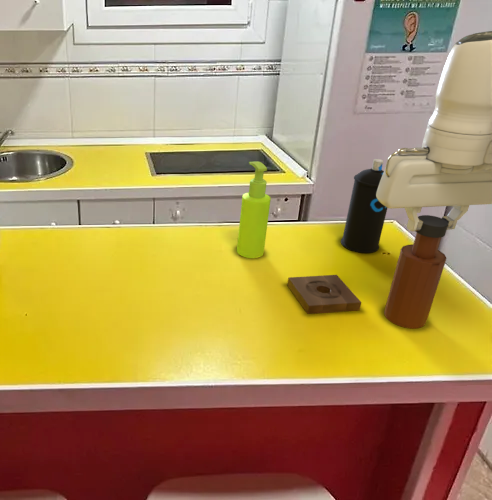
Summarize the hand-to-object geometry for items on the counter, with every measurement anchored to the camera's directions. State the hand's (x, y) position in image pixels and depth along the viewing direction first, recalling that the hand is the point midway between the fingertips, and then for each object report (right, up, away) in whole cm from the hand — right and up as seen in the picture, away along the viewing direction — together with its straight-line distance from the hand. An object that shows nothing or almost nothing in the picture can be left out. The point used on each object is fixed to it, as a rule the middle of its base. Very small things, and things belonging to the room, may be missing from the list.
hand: (430, 229), depth 85 cm
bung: (0, -2, +1) cm, 3 cm away
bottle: (0, -16, +8) cm, 18 cm away
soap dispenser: (-23, -4, +31) cm, 39 cm away
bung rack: (-13, -13, +14) cm, 23 cm away
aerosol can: (+2, -3, +33) cm, 34 cm away
